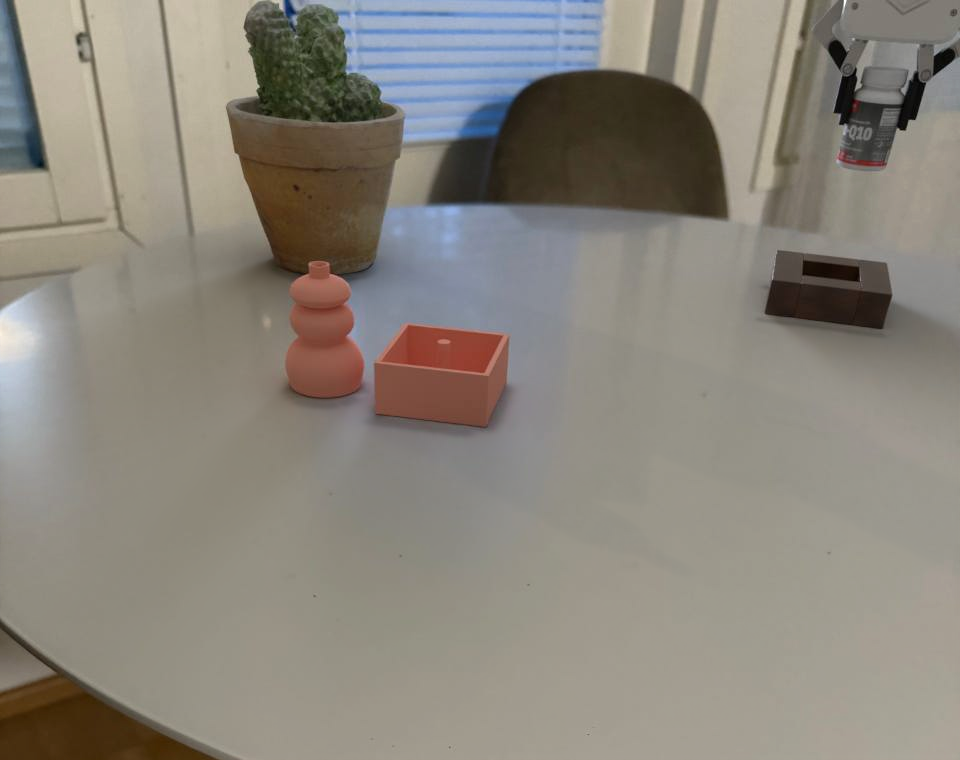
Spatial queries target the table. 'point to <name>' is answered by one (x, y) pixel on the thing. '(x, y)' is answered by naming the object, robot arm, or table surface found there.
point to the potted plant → (314, 142)
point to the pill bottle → (873, 119)
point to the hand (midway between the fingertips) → (871, 123)
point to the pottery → (393, 358)
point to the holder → (829, 289)
